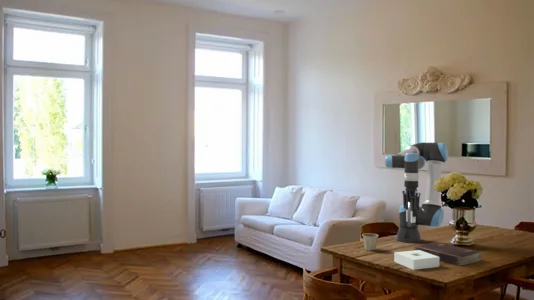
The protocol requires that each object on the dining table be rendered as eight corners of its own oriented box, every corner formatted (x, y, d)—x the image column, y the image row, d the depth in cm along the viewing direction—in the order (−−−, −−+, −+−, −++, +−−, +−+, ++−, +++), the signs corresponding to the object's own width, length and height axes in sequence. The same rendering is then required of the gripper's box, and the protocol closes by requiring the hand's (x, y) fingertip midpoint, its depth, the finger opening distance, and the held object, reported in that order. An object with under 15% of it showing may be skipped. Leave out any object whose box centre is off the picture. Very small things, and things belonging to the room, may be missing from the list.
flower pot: (378, 251, 271) (378, 237, 271) (362, 251, 273) (362, 236, 273) (378, 248, 280) (378, 233, 280) (362, 247, 282) (362, 233, 282)
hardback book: (414, 254, 266) (414, 246, 266) (435, 250, 276) (435, 242, 276) (459, 266, 242) (459, 257, 241) (481, 261, 252) (481, 252, 252)
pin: (411, 226, 265) (411, 201, 265) (415, 227, 262) (415, 202, 261) (406, 226, 264) (406, 201, 264) (410, 227, 261) (410, 202, 260)
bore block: (419, 259, 255) (419, 249, 255) (439, 266, 240) (439, 256, 240) (394, 261, 249) (394, 252, 249) (413, 269, 234) (413, 259, 234)
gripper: (397, 179, 269) (396, 219, 269) (415, 181, 253) (414, 224, 254) (407, 179, 271) (407, 219, 272) (426, 181, 256) (425, 223, 256)
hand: (410, 221), depth 263 cm, fingers closed on pin, 3 cm apart
